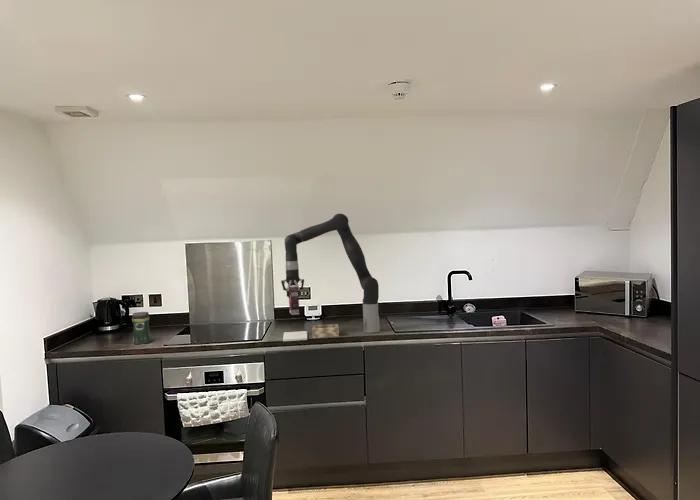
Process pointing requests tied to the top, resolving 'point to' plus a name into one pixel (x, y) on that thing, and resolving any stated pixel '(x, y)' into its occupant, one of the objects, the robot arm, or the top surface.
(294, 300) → the supplement box
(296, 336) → the white flat slab
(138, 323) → the coffee jar
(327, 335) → the birch caddy
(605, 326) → the top surface
